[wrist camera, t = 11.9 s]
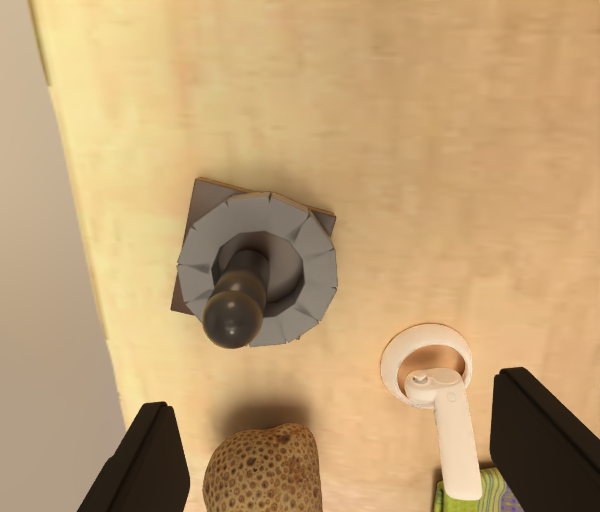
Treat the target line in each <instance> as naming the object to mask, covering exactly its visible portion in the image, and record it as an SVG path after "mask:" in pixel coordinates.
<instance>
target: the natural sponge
mask: <svg viewBox="0 0 600 512" xmlns="http://www.w3.org/2000/svg"><path fill="white" fill-rule="evenodd" d="M202 491H203V498H204V502H205V505H206V508H207V512H323V510H322V493H321V481H320V474H319V459H318V451H317V446H316V442H315V439H314V437H313V435H312V433H311V432H310V430H309V429H308V428H306V427H304V426H303V425H300V424H297V423H286V424H281V425H279V426H276V427H274V428H271V429H267V430H258V429H251V430H244V431H240V432H238V433H235V434H233V435H232V436H230V437H229V438H227V439H226V440H225V441H224V442H223V443H222V444H221V445H220V446H219V447H218V448H217V449H216V450H215V452H214V453H213V455H212V457H211V459H210V461H209V464H208V466H207V469H206V472H205V476H204V481H203V490H202Z"/></svg>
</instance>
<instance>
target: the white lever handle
mask: <svg viewBox="0 0 600 512" xmlns="http://www.w3.org/2000/svg"><path fill="white" fill-rule="evenodd" d="M435 344H439V345H445V346H448V347H451V348H453V349H455V350H456V351H458V352H459V353H460V354H461V355H462V357H463V358H464V360H465V370H464V373H463V375H462V377H461V375H460V374H459V373H458V372H457V371H455V370H453V369H450V368H445V367H439V368H432V369H425V370H417V371H413V372H411V373H409V374H408V375H407V377H406V379H405V384H404V389H405V392H406V395H407V396H408V397H407V396H405V395H404V394H403V393H402V392H401V391H400V389H399V386H398V382H397V374H398V370H399V367H400V365H401V363H402V362H403V361H404V359H405V358H406V357H407V356H408V355H409V354H410V353H412V352H413V351H415V350H416V349H418V348H421V347H423V346H427V345H435ZM380 372H381V377H382V380H383V382H384V384H385V386H386V387H387V389H388V390H389V391H390V392H391V393H392V394H393V395H394V396H395V397H397V398H398V399H399V400H401V401H402V402H404V403H406V404H408V405H411V406H413V407H417V408H422V409H434V408H435V411H434V419H435V423H436V425H437V432H438V441H439V450H440V458H441V467H442V476H443V483H444V488H445V491H446V494H447V495H448V496H449V497H451V498H454V499H459V500H470V501H471V500H479V499H480V498H481V497H482V483H481V476H480V470H479V464H478V458H477V452H476V446H475V440H474V434H473V428H472V422H471V416H470V410H469V404H468V399H467V394H466V388H467V386H468V384H469V382H470V379H471V375H472V357H471V352H470V349H469V346H468V344H467V342H466V341H465V339H464V338H463V337H462V336H461V335H460V334H459V333H458V332H457V331H455V330H453V329H451V328H450V327H447V326H443V325H439V324H422V325H417V326H414V327H411V328H409V329H406V330H405V331H403V332H401V333H400V334H398V335H397V336H396V337H395V338H394V339H393V340H392V341H391V342H390V343H389V345H388V346H387V347H386V349H385V351H384V353H383V355H382V359H381V363H380Z"/></svg>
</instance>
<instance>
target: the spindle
mask: <svg viewBox="0 0 600 512" xmlns="http://www.w3.org/2000/svg"><path fill="white" fill-rule="evenodd" d="M249 193H258V192H254V191H250V190H247V189H243V188H239V187H235V186H232V185H228V184H224V183H221V182H217V181H213V180H209V179H206V178H202V177H200V178H197V179H195V182H194V187H193V193H192V198H191V203H190V208H189V214H188V219H187V224H186V230H185V235H184V240H183V245H184V243H185V240H186V237H187V235H188V232H189V229H190V228H191V227H192V226H193V224H194V223H195V222H196V221H197V220H199V219H200V218H201V217H203V216H204V215H205V214H207V213H208V212H209V211H211V210H212V209H213V208H215V207H216V206H217V205H219V204H220V203H221V202H223V201H224V200H225V199H227V198H228V197H232V196H233V195H239V194H249ZM301 205H302V204H301ZM303 206H306V205H303ZM306 207H307V208H308V210H311V212H312V213H313V214H314V216H315V217H316V219H317V220H318V221H319V223H320V224H321V226H322V227H323V229H324V230H325V231H326V233H327V234H328V236H329V237H331V234H332V231H333V227H334V224H335V221H336V216H335V214H334V213H332V212H328V211H324V210H321V209H317V208H313V207H310V206H306ZM183 245H182V248H183ZM218 262H219V268H220V274H221V277H220V279H219V281H218V282H217V284H216V286H215V288H214V290H213V292H212V294H211V295H210V297H209V299H208V301H207V303H206V305H205V307H204V310H203V313H202V325H203V329H204V332H205V334H206V335H207V337H208V338H209V339H210V340H211V341H212V342H213V343H214V344H216V345H217V346H219V347H222V348H226V349H236V348H241V347H243V346H246V345H247V344H249V343H250V342H252V341H253V340H254V339H255V338H256V336H257V335H258V333H259V331H260V329H261V326H262V322H263V316H264V310H265V304H268V303H277V302H278V301H280V300H281V299H283V298H284V297H286V296H287V295H289V294H290V293H292V292H293V291H295V288H296V286H297V284H298V282H299V280H300V278H301V276H302V274H303V262H302V259H301V258H300V256H299V255H298V254H297V252H296V251H295V250H294V248H293V247H292V246H291V244H290V243H289V242H288V241H287V240H285V239H282V238H280V237H278V236H276V235H273V234H271V233H269V232H266V231H259V232H249V233H240V234H238V235H237V236H236V237H234V238H233V239H231V240H230V241H229V242H227V243H226V244H224V245H223V248H222V250H221V253H220V255H219V258H218ZM186 303H187V302H184V300H183V295H182V290H181V285H180V280H179V275H178V272H177V277H176V282H175V288H174V293H173V298H172V304H171V310H173V311H177V312H181V313H185V314H190V315H194V314H193V313H192V311H191V310H190V309H189V308H188V307H187V306H186ZM194 316H195V315H194ZM296 339H298V340H299V339H300V336H299V337H297V338H296Z"/></svg>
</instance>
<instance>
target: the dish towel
mask: <svg viewBox="0 0 600 512" xmlns="http://www.w3.org/2000/svg"><path fill="white" fill-rule="evenodd" d="M480 476H481V483H482V497H481V498H480V499H479V500H471V501H470V500H459V499H454V498H451V497H449V496H448V495H447V494H446V491H445V488H444V483H443V481H440V482H439V483H438V484H437V492H436V498H435V503H434V512H524V510H523V509H522V507H521V506H520V504H519V502H518V501H517V499H516V498H515V496H514V495H513V493H512V491H511V490H510V488H509V487H508V485H507V483H506V482H505V480H504V479H503V477H502V475H501V474H500V472H499V471H498V469H497V468H496V467H494V468H488V469H482V470H480Z"/></svg>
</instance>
